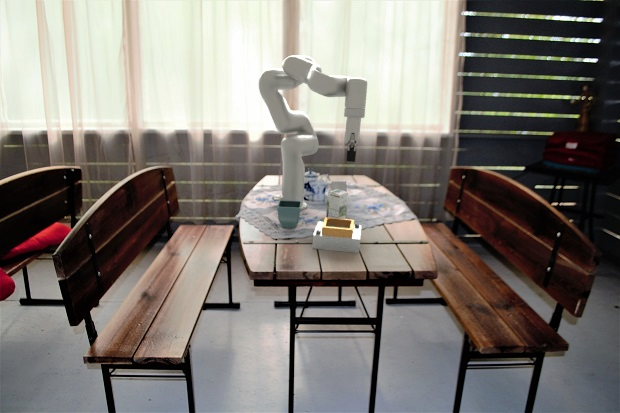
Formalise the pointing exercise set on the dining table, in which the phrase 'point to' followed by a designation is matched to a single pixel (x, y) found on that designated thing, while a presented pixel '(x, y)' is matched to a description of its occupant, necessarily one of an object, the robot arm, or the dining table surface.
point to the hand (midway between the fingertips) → (350, 158)
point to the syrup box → (337, 204)
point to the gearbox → (337, 235)
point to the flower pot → (288, 213)
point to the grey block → (338, 185)
